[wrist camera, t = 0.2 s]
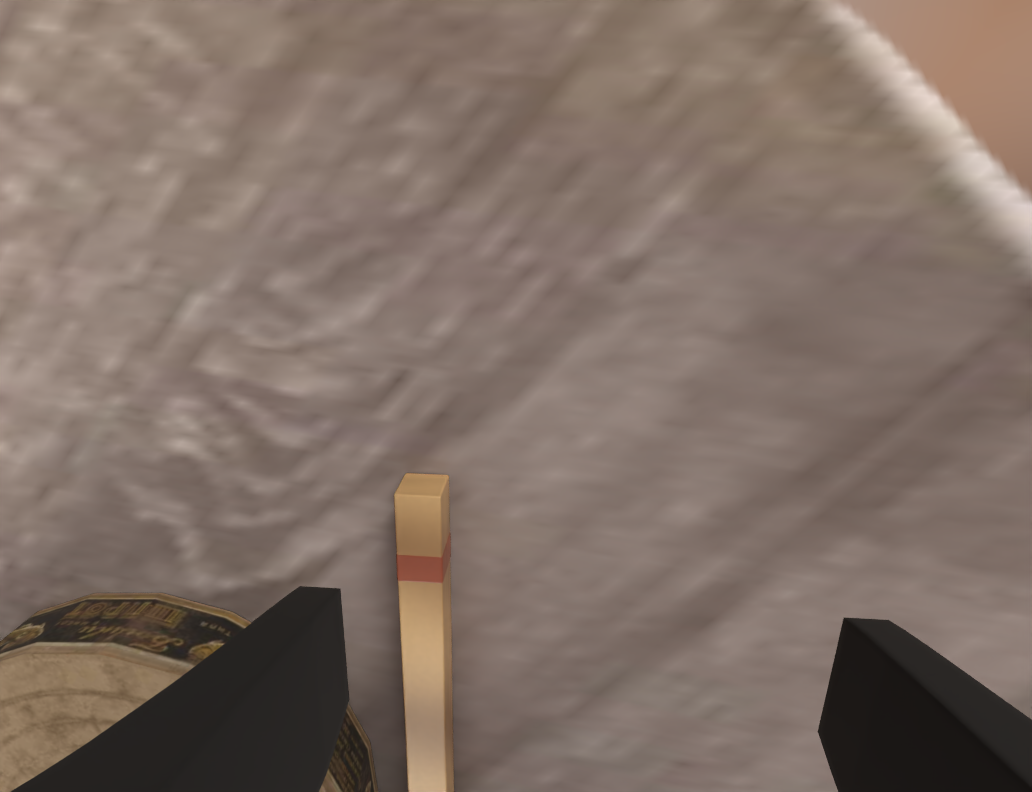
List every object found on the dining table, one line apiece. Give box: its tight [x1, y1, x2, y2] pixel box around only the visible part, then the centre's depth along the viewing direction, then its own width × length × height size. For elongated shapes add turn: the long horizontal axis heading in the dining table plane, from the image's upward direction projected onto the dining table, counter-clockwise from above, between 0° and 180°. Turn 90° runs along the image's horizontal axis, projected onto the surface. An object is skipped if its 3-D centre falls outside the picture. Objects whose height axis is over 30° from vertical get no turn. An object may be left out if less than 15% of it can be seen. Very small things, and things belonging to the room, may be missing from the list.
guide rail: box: [394, 473, 454, 792], centre depth 21 cm, size 18×1×2 cm, turn 179°
